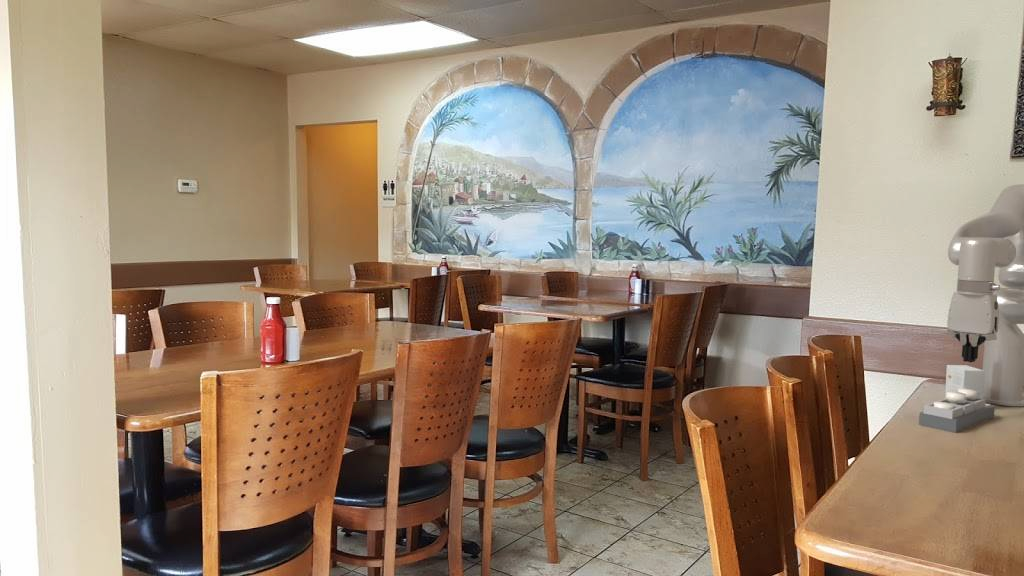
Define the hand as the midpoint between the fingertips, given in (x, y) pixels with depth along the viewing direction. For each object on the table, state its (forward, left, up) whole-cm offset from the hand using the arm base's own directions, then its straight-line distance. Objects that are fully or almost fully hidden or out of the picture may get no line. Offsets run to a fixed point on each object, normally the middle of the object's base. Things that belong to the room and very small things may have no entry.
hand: (969, 361), depth 176 cm
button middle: (+7, 0, -9) cm, 11 cm away
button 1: (+14, 0, -11) cm, 18 cm away
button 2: (0, 0, -9) cm, 9 cm away
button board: (+5, 0, -15) cm, 15 cm away
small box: (-14, -6, -15) cm, 21 cm away
